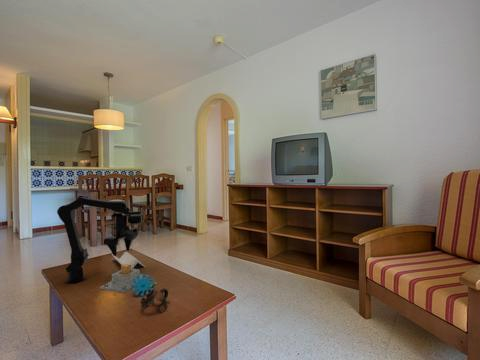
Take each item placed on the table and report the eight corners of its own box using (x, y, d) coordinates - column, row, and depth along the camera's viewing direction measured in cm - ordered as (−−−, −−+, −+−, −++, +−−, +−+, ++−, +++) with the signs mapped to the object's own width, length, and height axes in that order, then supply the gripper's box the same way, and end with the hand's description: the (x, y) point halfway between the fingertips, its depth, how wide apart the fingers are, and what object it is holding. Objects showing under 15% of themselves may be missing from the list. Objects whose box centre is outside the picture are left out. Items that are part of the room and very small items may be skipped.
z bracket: (126, 264, 159) (133, 256, 162) (138, 276, 140) (145, 267, 142) (111, 254, 153) (119, 246, 156) (121, 265, 134) (130, 255, 137)
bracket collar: (100, 289, 115) (99, 277, 115) (127, 274, 132) (127, 264, 132) (124, 292, 111) (124, 281, 111) (149, 277, 128) (149, 266, 128)
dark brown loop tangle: (158, 318, 92) (147, 300, 91) (144, 323, 96) (133, 305, 96) (177, 296, 102) (167, 280, 102) (163, 301, 107) (153, 285, 106)
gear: (129, 295, 105) (132, 273, 112) (128, 301, 109) (131, 279, 116) (156, 294, 109) (157, 273, 116) (154, 299, 113) (155, 278, 120)
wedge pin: (121, 281, 120) (120, 265, 120) (125, 279, 123) (125, 263, 123) (126, 282, 120) (126, 266, 119) (131, 279, 123) (130, 264, 123)
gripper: (120, 229, 119) (120, 260, 119) (145, 222, 137) (145, 249, 137) (102, 227, 122) (102, 258, 122) (128, 221, 140) (129, 247, 140)
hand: (121, 253), depth 131 cm, fingers open, 9 cm apart
